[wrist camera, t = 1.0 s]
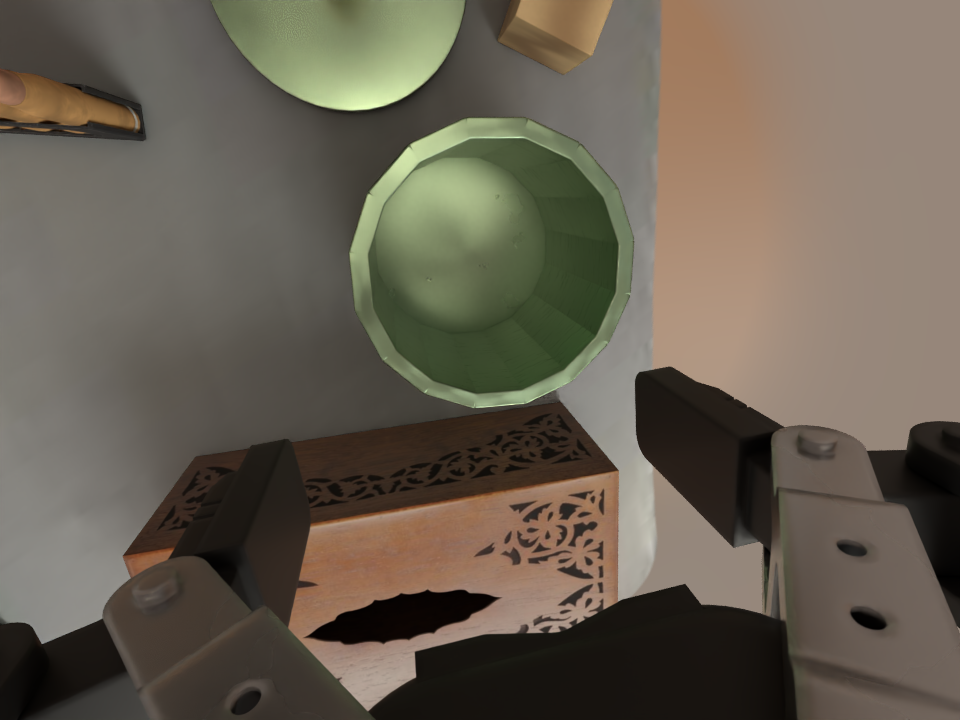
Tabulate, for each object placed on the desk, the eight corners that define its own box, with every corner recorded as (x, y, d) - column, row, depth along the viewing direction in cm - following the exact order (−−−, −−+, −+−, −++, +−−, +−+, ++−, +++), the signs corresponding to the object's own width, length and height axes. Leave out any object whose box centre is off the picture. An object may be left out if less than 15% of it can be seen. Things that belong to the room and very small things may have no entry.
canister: (325, 197, 30) (291, 198, 20) (512, 109, 31) (580, 63, 20) (417, 371, 35) (431, 450, 24) (580, 293, 35) (665, 336, 24)
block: (496, 41, 30) (514, 15, 25) (525, -43, 28) (549, -84, 24) (563, 75, 31) (592, 56, 26) (593, -4, 30) (628, -37, 25)
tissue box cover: (245, 622, 39) (199, 758, 29) (195, 456, 34) (122, 556, 25) (566, 559, 42) (617, 662, 33) (561, 402, 38) (618, 470, 28)
